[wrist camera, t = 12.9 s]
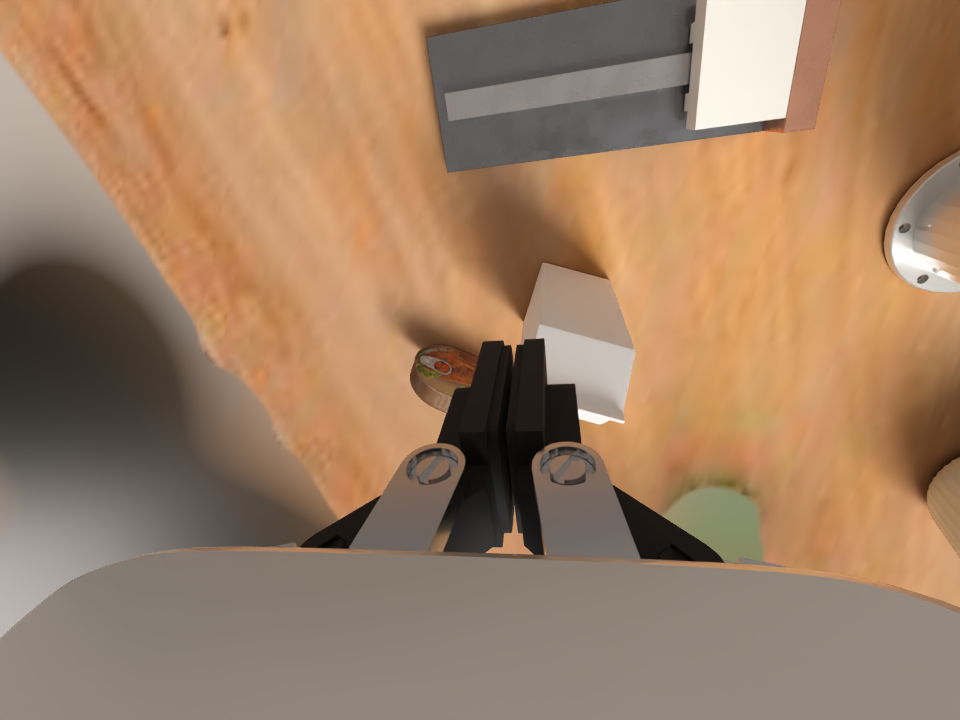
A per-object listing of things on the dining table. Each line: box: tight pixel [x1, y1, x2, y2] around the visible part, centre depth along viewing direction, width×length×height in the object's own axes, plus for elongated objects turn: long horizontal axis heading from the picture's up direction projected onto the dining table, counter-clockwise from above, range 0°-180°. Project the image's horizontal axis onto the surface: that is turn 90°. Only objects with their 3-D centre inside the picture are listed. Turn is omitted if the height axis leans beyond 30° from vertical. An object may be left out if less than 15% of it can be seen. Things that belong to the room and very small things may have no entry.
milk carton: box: [521, 263, 636, 424], centre depth 37 cm, size 7×7×19 cm
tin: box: [410, 345, 478, 413], centre depth 48 cm, size 15×3×8 cm, turn 66°
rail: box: [426, 0, 841, 173], centre depth 34 cm, size 28×10×5 cm, turn 98°
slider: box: [684, 0, 807, 130], centre depth 31 cm, size 6×8×4 cm
